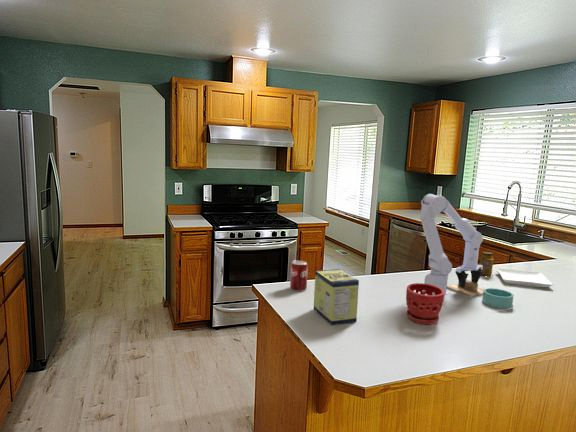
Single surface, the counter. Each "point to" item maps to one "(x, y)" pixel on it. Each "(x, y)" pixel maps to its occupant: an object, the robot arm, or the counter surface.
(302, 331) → the counter surface
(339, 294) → the protein box
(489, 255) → the condiment
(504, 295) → the teal bowl
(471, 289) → the oak lid
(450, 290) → the grey mat
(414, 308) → the plant pot
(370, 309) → the counter surface
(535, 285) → the salad plate
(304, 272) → the soda can
